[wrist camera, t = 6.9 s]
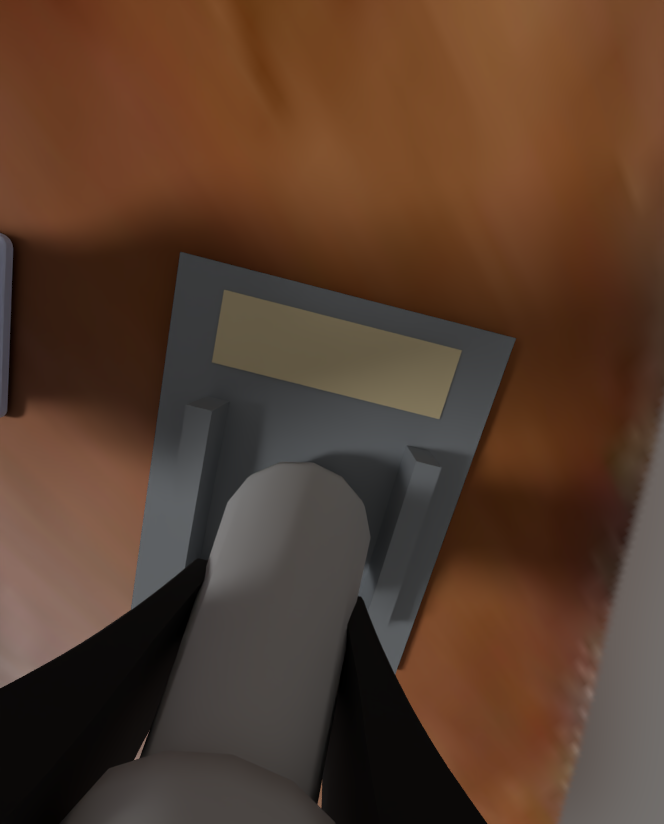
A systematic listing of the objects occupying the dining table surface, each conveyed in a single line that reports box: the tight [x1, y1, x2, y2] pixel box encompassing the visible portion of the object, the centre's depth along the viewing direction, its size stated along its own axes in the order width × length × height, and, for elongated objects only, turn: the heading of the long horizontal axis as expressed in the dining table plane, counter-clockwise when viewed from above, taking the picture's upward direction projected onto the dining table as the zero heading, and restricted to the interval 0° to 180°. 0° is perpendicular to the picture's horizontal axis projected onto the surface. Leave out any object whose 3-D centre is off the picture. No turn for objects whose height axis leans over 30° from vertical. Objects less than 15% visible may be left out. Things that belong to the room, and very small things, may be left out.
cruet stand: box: [131, 252, 516, 673], centre depth 15 cm, size 14×18×3 cm
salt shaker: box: [60, 462, 371, 824], centre depth 9 cm, size 6×6×13 cm
